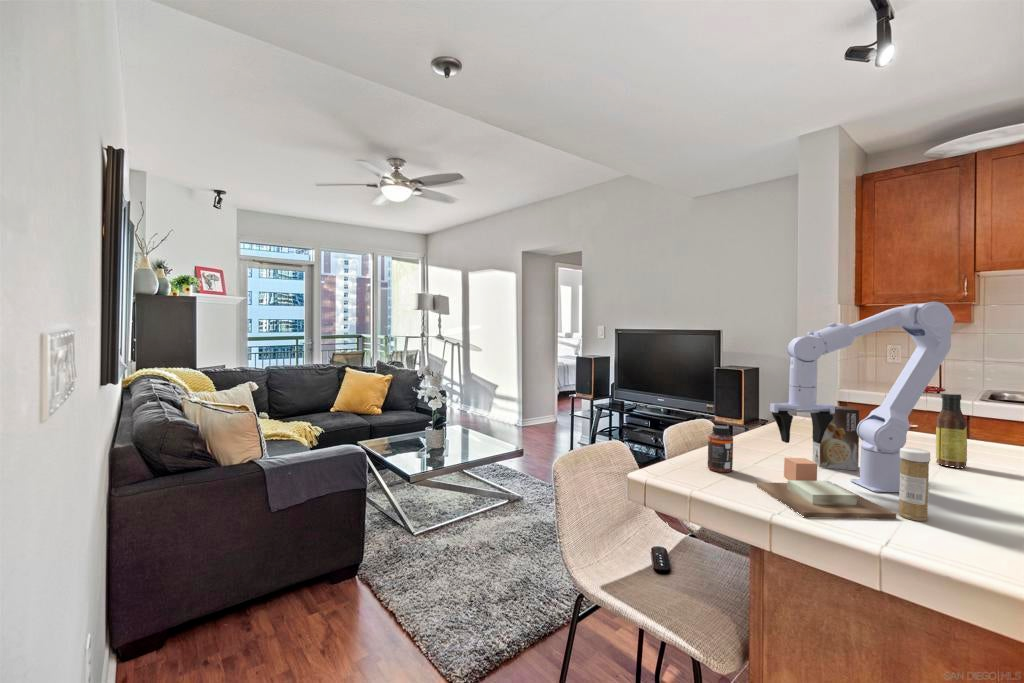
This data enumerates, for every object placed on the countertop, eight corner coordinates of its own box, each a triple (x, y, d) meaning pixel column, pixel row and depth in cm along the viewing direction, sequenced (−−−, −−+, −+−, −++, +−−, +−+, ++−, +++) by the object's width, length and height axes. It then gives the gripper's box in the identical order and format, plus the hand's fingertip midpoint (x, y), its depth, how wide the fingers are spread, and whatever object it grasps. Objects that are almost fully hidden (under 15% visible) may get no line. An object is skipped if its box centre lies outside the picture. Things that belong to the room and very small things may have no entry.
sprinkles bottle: (931, 518, 93) (933, 450, 93) (923, 523, 91) (926, 453, 90) (902, 511, 97) (904, 445, 97) (893, 515, 94) (896, 448, 94)
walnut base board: (834, 487, 111) (834, 475, 111) (896, 518, 93) (896, 503, 93) (756, 486, 111) (757, 473, 111) (803, 517, 93) (804, 502, 93)
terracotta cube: (803, 478, 118) (804, 458, 118) (816, 484, 113) (817, 463, 113) (783, 477, 118) (784, 457, 118) (795, 484, 113) (796, 463, 113)
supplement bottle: (735, 474, 121) (736, 429, 120) (710, 472, 122) (711, 428, 121) (729, 467, 126) (730, 424, 126) (705, 465, 128) (706, 423, 127)
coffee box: (849, 464, 131) (851, 406, 130) (858, 471, 124) (861, 410, 124) (811, 461, 133) (813, 404, 133) (818, 467, 127) (820, 407, 127)
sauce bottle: (973, 469, 127) (976, 395, 127) (949, 469, 127) (952, 395, 127) (950, 462, 134) (953, 392, 133) (928, 462, 134) (931, 391, 133)
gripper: (822, 384, 119) (820, 438, 120) (764, 383, 119) (762, 437, 120) (841, 388, 112) (839, 445, 113) (779, 387, 112) (778, 444, 113)
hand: (801, 442), depth 116 cm, fingers open, 7 cm apart
